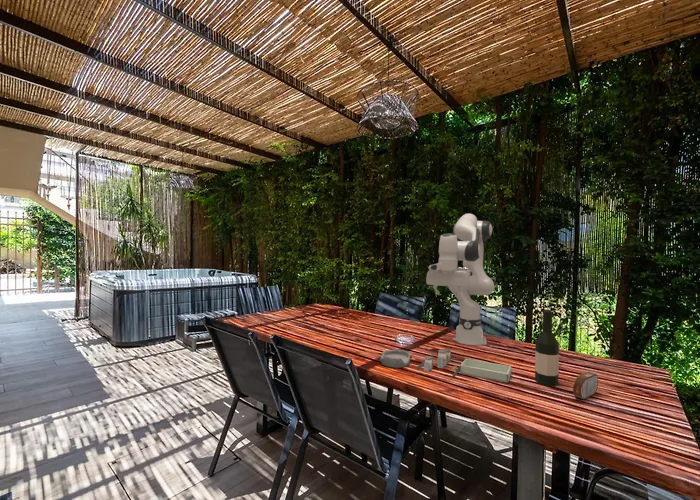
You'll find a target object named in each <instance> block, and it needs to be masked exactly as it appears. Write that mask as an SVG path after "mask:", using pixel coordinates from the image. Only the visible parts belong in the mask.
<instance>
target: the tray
mask: <svg viewBox="0 0 700 500" xmlns="http://www.w3.org/2000/svg"><path fill="white" fill-rule="evenodd" d="M459 366H460V371H459V374H461V375H465V376H471V377H475V378H479V379H486V380H490V381H495V382H500V383H505V384H509V381H510V379H511V377H512V366H511V365H504V364H499V363H494V362H488V361H483V360H476V359H471V358H465V359H464V360H463V361H462V362H461V363H460V365H459Z"/></svg>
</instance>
